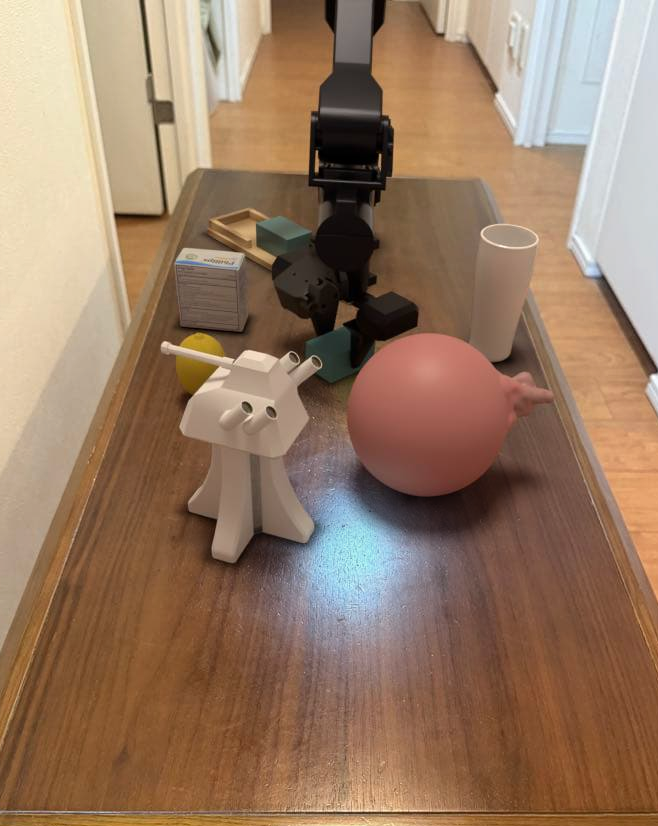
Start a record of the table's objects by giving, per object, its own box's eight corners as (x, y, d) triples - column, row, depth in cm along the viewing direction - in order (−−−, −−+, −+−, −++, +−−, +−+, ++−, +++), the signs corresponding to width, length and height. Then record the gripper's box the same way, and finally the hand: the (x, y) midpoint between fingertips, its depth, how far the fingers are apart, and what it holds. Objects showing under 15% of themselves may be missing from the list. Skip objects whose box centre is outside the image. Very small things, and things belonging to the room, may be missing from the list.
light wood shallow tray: (206, 234, 125) (204, 205, 122) (252, 220, 129) (251, 191, 126) (276, 274, 116) (276, 243, 113) (322, 258, 121) (323, 228, 118)
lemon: (189, 416, 91) (182, 351, 85) (172, 390, 94) (165, 326, 89) (236, 405, 93) (233, 341, 87) (219, 379, 96) (214, 316, 91)
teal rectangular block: (348, 348, 103) (349, 323, 101) (374, 363, 101) (375, 338, 98) (305, 367, 99) (305, 341, 97) (331, 383, 97) (332, 358, 95)
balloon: (555, 527, 81) (594, 392, 70) (349, 530, 79) (357, 392, 68) (520, 433, 92) (549, 304, 81) (339, 434, 90) (345, 302, 79)
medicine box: (249, 316, 107) (246, 251, 101) (242, 334, 104) (238, 268, 98) (188, 310, 108) (182, 245, 102) (180, 327, 104) (172, 261, 98)
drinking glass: (522, 347, 105) (547, 231, 95) (506, 372, 101) (530, 253, 90) (472, 334, 107) (490, 218, 97) (454, 358, 102) (471, 239, 92)
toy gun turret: (210, 465, 85) (195, 302, 72) (332, 497, 82) (338, 334, 70) (151, 540, 76) (123, 369, 64) (285, 578, 74) (283, 409, 61)
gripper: (230, 218, 89) (237, 347, 100) (349, 282, 80) (343, 417, 90) (309, 195, 95) (308, 319, 106) (429, 252, 85) (414, 382, 96)
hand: (340, 357), depth 99 cm, fingers open, 5 cm apart
